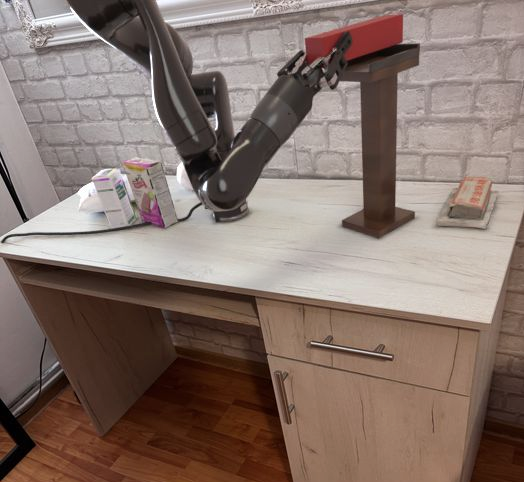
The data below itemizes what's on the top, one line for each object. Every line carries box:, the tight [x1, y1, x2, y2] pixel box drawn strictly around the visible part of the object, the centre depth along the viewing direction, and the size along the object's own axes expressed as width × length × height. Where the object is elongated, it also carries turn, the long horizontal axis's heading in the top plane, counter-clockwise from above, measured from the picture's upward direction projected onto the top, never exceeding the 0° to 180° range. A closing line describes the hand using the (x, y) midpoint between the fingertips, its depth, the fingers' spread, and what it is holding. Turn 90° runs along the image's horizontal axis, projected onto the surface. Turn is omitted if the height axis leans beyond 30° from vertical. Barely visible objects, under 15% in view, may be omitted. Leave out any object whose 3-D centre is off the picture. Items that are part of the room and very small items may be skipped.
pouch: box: [77, 174, 136, 214], centre depth 144 cm, size 8×19×20 cm
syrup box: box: [90, 167, 138, 229], centre depth 129 cm, size 6×6×14 cm
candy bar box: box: [122, 156, 179, 229], centre depth 125 cm, size 11×5×16 cm, turn 47°
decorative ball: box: [175, 162, 194, 192], centre depth 144 cm, size 9×10×12 cm
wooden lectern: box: [339, 42, 421, 240], centre depth 98 cm, size 13×11×34 cm
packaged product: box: [436, 176, 499, 230], centre depth 105 cm, size 18×5×10 cm
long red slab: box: [304, 13, 404, 69], centre depth 84 cm, size 20×4×4 cm, turn 128°
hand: (338, 36), depth 82 cm, fingers closed on long red slab, 4 cm apart
